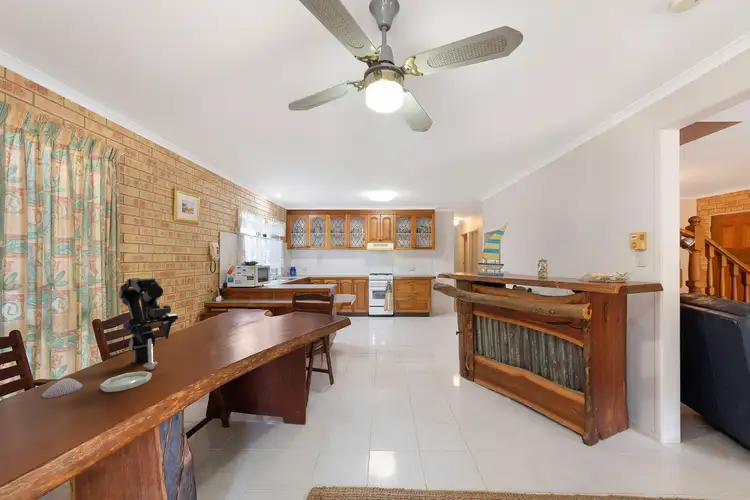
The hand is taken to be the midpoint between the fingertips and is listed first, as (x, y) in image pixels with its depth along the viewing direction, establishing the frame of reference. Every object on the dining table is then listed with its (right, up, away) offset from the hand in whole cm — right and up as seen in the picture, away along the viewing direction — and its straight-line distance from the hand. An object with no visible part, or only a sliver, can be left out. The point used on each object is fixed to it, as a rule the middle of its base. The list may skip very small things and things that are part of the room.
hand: (155, 340), depth 129 cm
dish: (-1, -12, -13) cm, 18 cm away
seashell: (-20, -13, -18) cm, 30 cm away
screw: (-3, -12, +1) cm, 13 cm away
